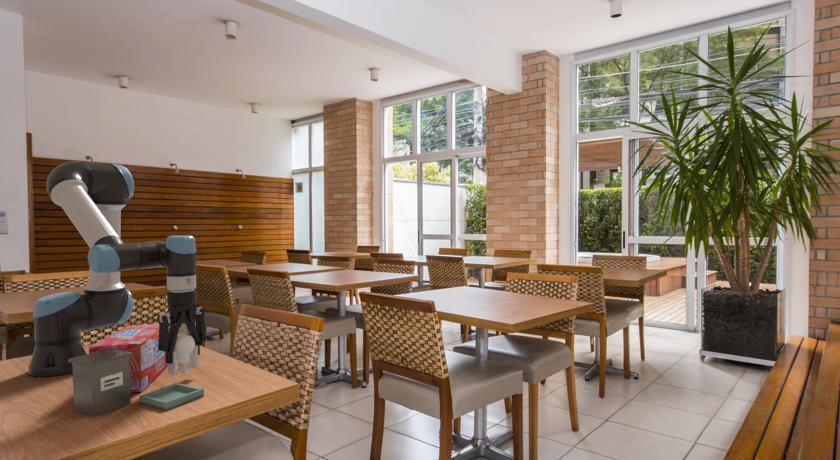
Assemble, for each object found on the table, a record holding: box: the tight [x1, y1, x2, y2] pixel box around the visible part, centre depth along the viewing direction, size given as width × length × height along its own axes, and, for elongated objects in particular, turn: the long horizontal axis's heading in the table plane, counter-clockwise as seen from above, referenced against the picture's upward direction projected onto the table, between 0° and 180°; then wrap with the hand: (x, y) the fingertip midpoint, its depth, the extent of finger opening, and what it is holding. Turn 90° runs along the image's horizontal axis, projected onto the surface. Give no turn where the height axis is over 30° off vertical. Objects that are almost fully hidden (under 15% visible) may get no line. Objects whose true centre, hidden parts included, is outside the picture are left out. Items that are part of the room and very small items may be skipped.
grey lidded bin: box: [68, 349, 133, 417], centre depth 123 cm, size 9×10×13 cm
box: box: [88, 323, 168, 394], centre depth 144 cm, size 27×13×14 cm, turn 11°
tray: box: [138, 382, 205, 411], centre depth 127 cm, size 11×11×2 cm
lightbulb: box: [174, 333, 195, 374], centre depth 142 cm, size 6×6×11 cm
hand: (183, 370), depth 142 cm, fingers closed on lightbulb, 6 cm apart
